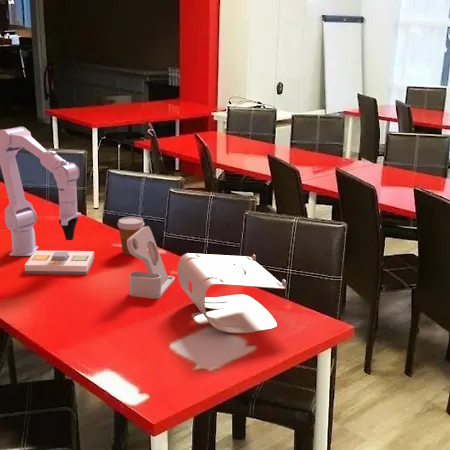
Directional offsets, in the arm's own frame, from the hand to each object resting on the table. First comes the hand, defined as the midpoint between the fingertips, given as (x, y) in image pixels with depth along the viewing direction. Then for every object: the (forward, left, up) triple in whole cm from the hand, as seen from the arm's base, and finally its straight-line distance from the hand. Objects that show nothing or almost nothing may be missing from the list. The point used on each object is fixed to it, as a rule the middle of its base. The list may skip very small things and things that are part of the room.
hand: (69, 239), depth 216 cm
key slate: (+2, -3, -7) cm, 7 cm away
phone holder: (+18, +29, -9) cm, 35 cm away
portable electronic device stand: (+38, +53, -9) cm, 65 cm away
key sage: (+2, +3, -8) cm, 9 cm away
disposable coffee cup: (-13, +19, -9) cm, 25 cm away
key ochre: (+2, -9, -8) cm, 12 cm away
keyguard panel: (+2, -3, -9) cm, 10 cm away
